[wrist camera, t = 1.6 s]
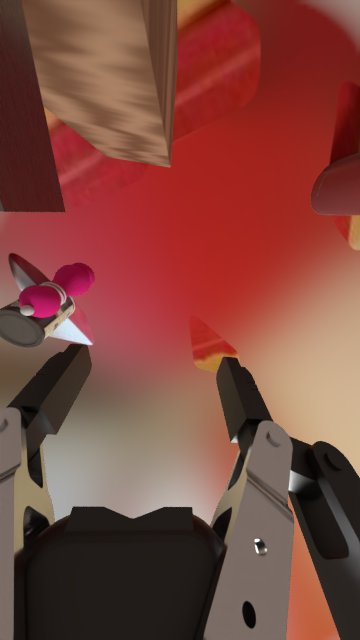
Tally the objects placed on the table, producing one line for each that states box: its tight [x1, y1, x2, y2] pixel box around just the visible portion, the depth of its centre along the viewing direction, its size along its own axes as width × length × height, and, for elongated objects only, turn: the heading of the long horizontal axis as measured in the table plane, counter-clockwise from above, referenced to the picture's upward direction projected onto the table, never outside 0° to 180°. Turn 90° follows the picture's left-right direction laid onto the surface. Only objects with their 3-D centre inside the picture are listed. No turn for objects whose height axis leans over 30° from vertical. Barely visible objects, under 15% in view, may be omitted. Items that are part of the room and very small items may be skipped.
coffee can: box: [0, 296, 75, 348], centre depth 42 cm, size 10×10×14 cm
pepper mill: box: [19, 263, 95, 318], centre depth 35 cm, size 7×7×20 cm
